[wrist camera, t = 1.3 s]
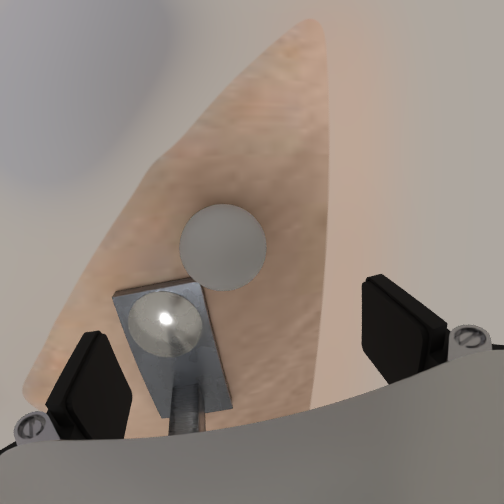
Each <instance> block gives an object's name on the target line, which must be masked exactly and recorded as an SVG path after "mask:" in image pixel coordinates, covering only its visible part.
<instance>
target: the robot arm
mask: <svg viewBox="0 0 504 504" xmlns="http://www.w3.org/2000/svg"><path fill="white" fill-rule="evenodd" d="M362 348H363V351H364V352H365V354H366V355H367V356H368V358H369V359H370V360H371V361H372V363H373V364H374V365H375V367H376V368H377V369H378V371H379V372H380V373H381V375H382V376H383V377H384V379H385V380H386V381H387V383H388V384H389V385H387V386H384V387H382V388H379V389H376V390H373V391H370V392H368V393H364V394H362V395H358V396H355V397H353V398H349V399H346V400H343V401H340V402H336V403H333V404H330V405H326V406H323V407H319V408H316V409H312V410H308V411H304V412H301V413H297V414H293V415H289V416H284V417H280V418H276V419H271V420H267V421H262V422H257V423H252V424H247V425H242V426H236V427H231V428H225V429H219V430H212V431H205V432H198V433H190V434H181V435H172V436H161V437H149V438H133V439H124V435H125V430H126V425H127V421H128V416H129V412H130V407H131V403H132V392H131V389H130V387H129V385H128V383H127V381H126V379H125V377H124V374H123V372H122V370H121V368H120V366H119V363H118V361H117V359H116V357H115V354H114V352H113V350H112V347H111V345H110V343H109V340H108V338H107V336H106V335H105V334H102V333H101V332H100V331H93V332H85V333H84V334H83V336H82V338H81V339H80V341H79V343H78V345H77V346H76V348H75V350H74V351H73V353H72V355H71V357H70V359H69V360H68V362H67V364H66V366H65V368H64V369H63V371H62V373H61V375H60V377H59V379H58V380H57V382H56V384H55V386H54V388H53V390H52V392H51V394H50V396H49V398H48V400H47V402H46V404H45V405H46V406H47V408H48V411H47V413H44V412H40V411H35V412H31V413H28V414H26V415H25V416H23V417H22V418H21V419H20V420H19V421H18V422H17V424H16V425H15V428H14V437H15V440H16V441H15V442H13V443H12V444H10V445H8V446H7V447H5V448H3V449H2V450H0V504H504V345H495V344H491V338H490V335H489V333H488V332H487V331H486V330H484V329H483V328H481V327H478V326H475V325H461V326H458V327H456V328H454V329H453V330H452V331H449V330H448V329H447V323H446V322H445V321H444V320H443V319H441V318H440V317H439V316H437V315H436V314H435V313H434V312H432V311H431V310H430V309H428V308H427V307H426V306H424V305H423V304H422V303H420V302H419V301H418V300H416V299H415V298H414V297H412V296H411V295H410V294H408V293H407V292H406V291H404V290H403V289H402V288H400V287H399V286H398V285H396V284H395V283H394V282H392V281H391V280H390V279H388V278H387V277H385V276H384V275H382V274H379V275H375V276H371V277H367V278H366V282H364V283H362Z"/></svg>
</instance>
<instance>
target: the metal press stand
mask: <svg viewBox="0 0 504 504" xmlns="http://www.w3.org/2000/svg"><path fill="white" fill-rule="evenodd" d="M112 299H113V302H114V305H115V308H116V311H117V314H118V316H119V319H120V322H121V325H122V327H123V330H124V333H125V335H126V338H127V341H128V343H129V346H130V348H131V351H132V353H133V356H134V358H135V361H136V363H137V365H138V368H139V370H140V372H141V375H142V377H143V379H144V382H145V384H146V386H147V388H148V391H149V393H150V395H151V397H152V399H153V401H154V403H155V406H156V408H157V410H158V412H159V414H160V416H161V418H170V421H169V434H168V436H172V435H181V434H190V433H198V432H205V431H206V426H205V413H209V412H215V411H222V410H227V409H233V405H232V399H231V396H230V392H229V389H228V385H227V382H226V378H225V375H224V371H223V367H222V364H221V360H220V356H219V352H218V349H217V345H216V341H215V337H214V333H213V329H212V325H211V321H210V317H209V313H208V309H207V305H206V301H205V297H204V292H203V288H202V285H200V284H199V283H197V282H196V281H195V280H193V278H192V277H190V278H185V279H179V280H174V281H169V282H164V283H158V284H153V285H148V286H142V287H137V288H131V289H126V290H121V291H116V292H115V293H114V295H113V296H112Z"/></svg>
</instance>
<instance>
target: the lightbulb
mask: <svg viewBox="0 0 504 504" xmlns="http://www.w3.org/2000/svg"><path fill="white" fill-rule="evenodd" d="M179 250H180V257H181V260H182V263H183V266H184V268H185V269H186V271H187V273H188V274H189V275H190V276H191V277H192V278H193V280H195V281H196V282H197V283H199V284H200V285H202V286H204V287H206V288H208V289H212V290H216V291H230V290H235V289H238V288H240V287H242V286H244V285H246V284H247V283H249V282H250V281H251V280H253V278H254V277H255V276H256V275H257V274H258V273H259V271H260V269H261V268H262V266H263V263H264V260H265V256H266V238H265V234H264V231H263V229H262V227H261V225H260V224H259V222H258V221H257V220H256V219H255V218H254V216H253V215H251V214H250V213H249V212H248V211H246V210H244V209H242V208H240V207H238V206H234V205H230V204H216V205H212V206H209V207H206V208H204V209H202V210H200V211H198V212H197V213H196V214H195V215H194V216H192V217H191V219H190V220H189V221H188V222H187V224H186V226H185V228H184V229H183V232H182V235H181V239H180V247H179Z"/></svg>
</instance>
